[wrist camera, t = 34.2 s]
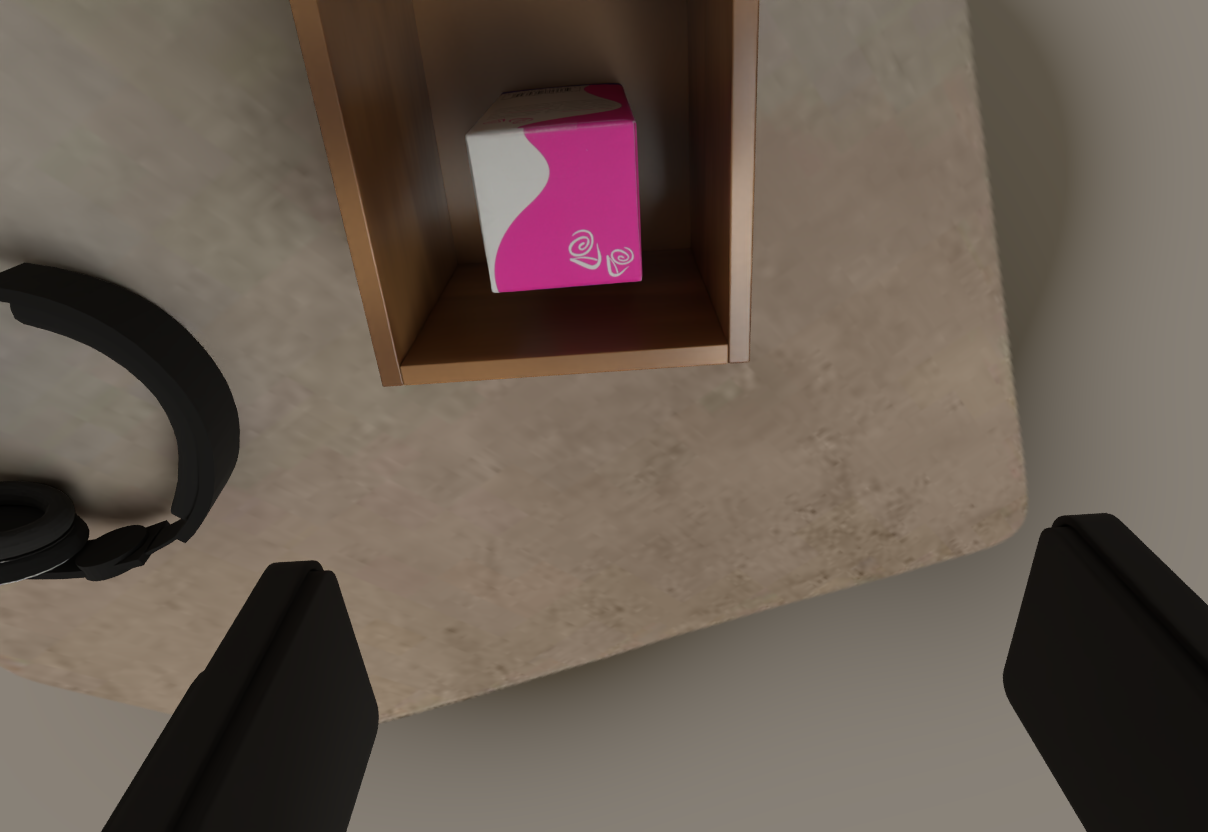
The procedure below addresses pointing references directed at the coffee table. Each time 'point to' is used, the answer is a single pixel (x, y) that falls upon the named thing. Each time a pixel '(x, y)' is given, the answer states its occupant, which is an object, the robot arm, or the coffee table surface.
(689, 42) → the chest
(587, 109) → the supplement box
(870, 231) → the coffee table surface
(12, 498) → the headphones
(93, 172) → the coffee table surface
